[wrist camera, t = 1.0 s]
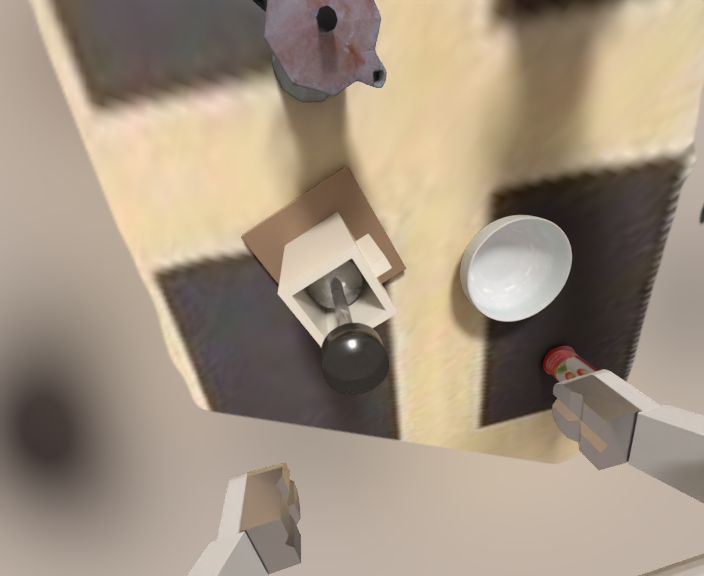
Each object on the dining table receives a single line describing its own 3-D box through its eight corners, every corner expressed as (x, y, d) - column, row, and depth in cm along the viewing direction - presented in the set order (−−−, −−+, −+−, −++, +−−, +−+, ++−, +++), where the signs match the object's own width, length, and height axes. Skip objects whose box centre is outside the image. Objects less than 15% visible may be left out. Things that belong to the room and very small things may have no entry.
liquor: (550, 337, 65) (710, 462, 40) (578, 345, 67) (748, 470, 42) (530, 367, 68) (669, 503, 42) (558, 374, 70) (706, 509, 44)
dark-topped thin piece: (343, 246, 39) (371, 315, 23) (370, 288, 41) (412, 374, 26) (297, 275, 39) (296, 361, 24) (327, 315, 42) (342, 414, 27)
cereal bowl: (561, 247, 58) (594, 261, 51) (492, 318, 62) (515, 339, 55) (499, 186, 52) (528, 192, 45) (428, 269, 56) (444, 285, 49)
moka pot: (340, 133, 45) (366, 128, 27) (230, 62, 41) (174, -1, 22) (376, 63, 43) (433, 5, 25) (264, -23, 38) (231, -172, 20)
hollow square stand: (346, 165, 47) (371, 179, 30) (403, 265, 55) (449, 320, 38) (242, 234, 49) (212, 283, 32) (311, 322, 56) (316, 398, 40)
